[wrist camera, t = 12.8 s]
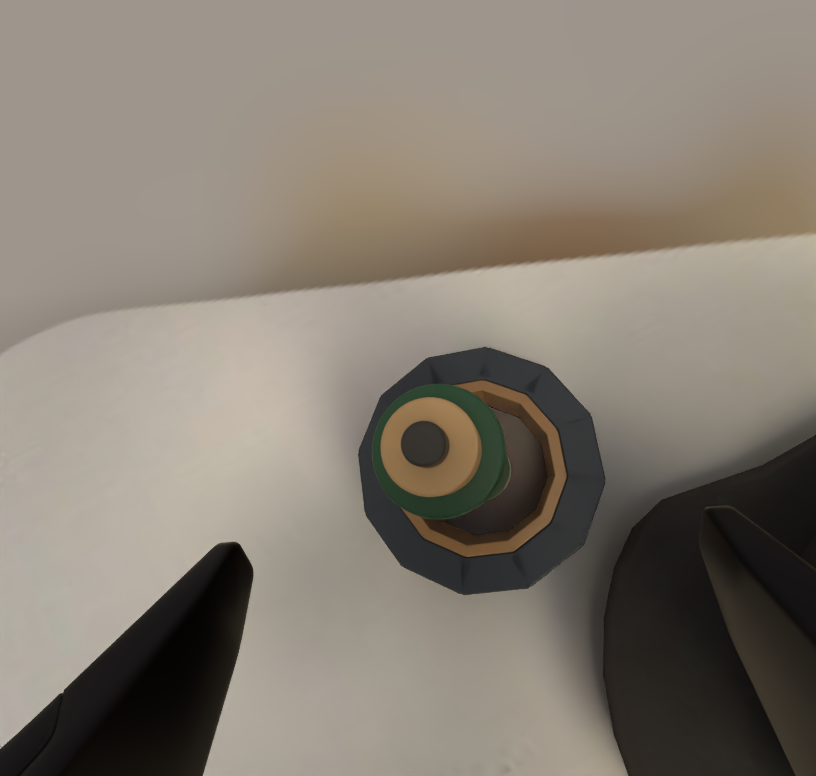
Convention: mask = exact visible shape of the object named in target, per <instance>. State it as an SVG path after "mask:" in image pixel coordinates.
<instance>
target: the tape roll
mask: <svg viewBox="0 0 816 776" xmlns="http://www.w3.org/2000/svg"><path fill="white" fill-rule="evenodd" d="M431 384H447V385H453V386H457V387H461V388H463V389H465V390H468V391H470V392H471V393H473V394H475V395H476V396H478V397H479V398H480V399H482V400H483V401H484V402H485V403H486V404H487V405H488V406H490V407H493V408H496V409H499V410H501V411H504V412H507V413H510V414H512V415H515V416H518V417H519V418H520V419H521V420H522V421H523V422H524V423H525V425H526V426H527V427H528V428H529V429H530V430H531V431H532V433H533V434H534V435H535V436H536V437H537V438H538V440H539V441H540V442H541V444H542V449H543V454H544V460H545V465H546V470H547V475H548V478H547V481H546V483H545V486H544V489H543V492H542V495H541V497H540V500H539V503H538V506H537V508H536V510H535V511H534V512H532V513H531V514H530V515H529V516H527V517H526V518H525V519H524V520H522V521H521V522H520V523H519V524H517V525H516V526H515V527H514V528H512V529H511V530H510V531H506V532H498V533H489V534H481V535H473V534H471V533H468V532H466V531H464V530H461V529H459V528H457V527H454V526H452V525H450V524H448V523H445V522H443V521H442V519H441V520H437V519H427V518H422V517H419V516H416V515H413V514H411V513H409V512H407V511H405V510H404V509H402V508H401V507H399V506H398V505H397V504H396V503H394V502H393V501H392V500H391V499H390V498H389V496H388V495H387V494H386V493H385V491H384V490H383V488H382V487H381V485H380V483H379V481H378V479H377V476H376V473H375V471H374V466H373V461H372V443H373V437H374V433H375V430H376V427H377V425H378V423H379V421H380V419H381V417H382V415H383V414H384V412H385V411H386V410H387V408H388V407H389V406H390V405H391V404H392V403H393V402H394V401H395V400H396V399H398V398H399V397H400V396H402V395H403V394H405V393H406V392H408V391H410V390H412V389H415V388H417V387H421V386H425V385H431ZM358 456H359V465H360V474H361V482H362V491H363V500H364V509H365V513H366V516H367V518H368V519H369V521H370V522H371V523H372V525H373V526H374V528H375V529H376V531H377V532H378V533H379V535H380V536H381V538H382V539H383V541H384V542H385V543H386V545H387V546H388V548H389V549H390V550H391V552H392V553H393V555H394V556H395V558H396V559H397V560H398V562H399V563H400V565H401V566H403V567H404V568H406V569H408V570H410V571H412V572H414V573H416V574H419V575H421V576H423V577H425V578H427V579H429V580H431V581H434V582H436V583H438V584H440V585H442V586H444V587H446V588H448V589H451V590H453V591H455V592H457V593H459V594H463V595H470V594H479V593H489V592H499V591H508V590H518V589H528V588H529V587H531V586H533V585H534V584H536V583H537V582H538V581H539V580H541V579H542V578H543V577H544V576H546V575H547V574H548V573H549V572H551V571H552V570H553V569H555V568H556V567H557V566H558V565H560V564H561V563H562V562H563V561H565V560H566V559H567V558H569V557H570V556H571V555H572V554H574V553H575V552H576V551H577V550H579V549H580V548H581V547H582V545H584V543H585V540H586V537H587V534H588V531H589V528H590V526H591V523H592V520H593V517H594V514H595V511H596V508H597V505H598V503H599V500H600V497H601V494H602V491H603V488H604V485H605V475H604V471H603V466H602V461H601V457H600V452H599V448H598V443H597V438H596V434H595V429H594V425H593V420H592V417H591V415H590V413H589V412H588V411H587V410H586V409H585V408H584V407H583V405H582V404H581V403H580V402H579V401H578V400H577V399H576V398H575V397H574V396H573V394H572V393H571V392H570V391H569V390H568V389H567V388H566V387H565V386H564V385H563V384H562V382H561V381H560V380H559V379H558V378H557V377H556V376H555V375H554V374H553V373H552V372H551V370H550V369H549V368H546V367H545V366H543V365H540V364H537V363H534V362H531V361H528V360H525V359H522V358H519V357H516V356H513V355H510V354H507V353H504V352H501V351H498V350H495V349H492V348H487V347H483V348H478V349H472V350H467V351H462V352H456V353H451V354H446V355H440V356H435V357H430V358H427V359H425V360H424V361H423V362H421V363H420V364H419V365H418V366H417V367H415V368H414V369H413V370H412V371H410V372H409V373H408V374H407V375H406V376H404V377H403V378H402V379H401V380H399V381H398V382H397V383H396V384H395V385H393V386H392V387H391V388H390V389H389V390H387V391H386V392H385V393H384V394H382V395H381V397H380V399H379V401H378V404H377V406H376V409H375V411H374V414H373V416H372V419H371V421H370V424H369V426H368V429H367V431H366V433H365V436H364V438H363V441H362V443H361V446H360V448H359V454H358Z"/></svg>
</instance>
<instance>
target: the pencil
mask: <svg viewBox="0 0 816 776" xmlns="http://www.w3.org/2000/svg"><path fill="white" fill-rule="evenodd" d="M372 461H373V466H374V471H375V473H376V476H377V479H378V481H379V483H380V485H381V487H382V488H383V490H384V491H385V493H386V494H387V495H388V496H389V498H390V499H391V500H392V501H393V502H394V503H396V504H397V505H398V506H399V507H401V508H402V509H404V510H405V511H407V512H409V513H411V514H413V515H416V516H419V517H422V518H427V519H437V520H441V519H450V518H455V517H458V516H461V515H464V514H466V513H468V512H470V511H472V510H474V509H475V508H477V507H479V506H480V505H482V504H484V503H485V502H487V501H490V500H493V499H494V498H496V497H498V496H499V495H500V494H501V493H502V492H503V491H504V490H505V489H506V487H507V486H508V484H509V481H510V478H511V462H510V459H509V456H508V454H507V449H506V444H505V439H504V435H503V431H502V428H501V426H500V423H499V421H498V419H497V418H496V416H495V414H494V413H493V411H492V410H491V409H490V407H489V406H488V405H487V404H486V403H485V402H484V401H483V400H482V399H480V398H479V397H478V396H476V395H475V394H473V393H471V392H470V391H468V390H465V389H463V388H461V387H457V386H453V385H447V384H431V385H425V386H421V387H417V388H415V389H412V390H410V391H408V392H406V393H405V394H403V395H402V396H400V397H399V398H398V399H396V400H395V401H394V402H393V403H392V404H391V405H390V406H389V407H388V408H387V410H386V411H385V412H384V414H383V415H382V417H381V419H380V421H379V423H378V425H377V427H376V430H375V433H374V437H373V443H372Z"/></svg>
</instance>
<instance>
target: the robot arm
mask: <svg viewBox="0 0 816 776" xmlns="http://www.w3.org/2000/svg"><path fill="white" fill-rule="evenodd" d="M699 546H700V550H701V554H702V556H703V559H704V562H705V565H706V568H707V571H708V574H709V577H710V580H711V583H712V586H713V589H714V592H715V595H716V597H717V600H718V603H719V606H720V609H721V612H722V615H723V618H724V621H725V624H726V626H727V629H728V632H729V634H730V637H731V639H732V641H733V644H734V646H735V648H736V650H737V652H738V655H739V657H740V659H741V661H742V663H743V665H744V667H745V669H746V672H747V674H748V676H749V678H750V680H751V682H752V684H753V686H754V689H755V691H756V693H757V695H758V697H759V699H760V701H761V703H762V706H763V708H764V710H765V712H766V714H767V716H768V718H769V720H770V723H771V725H772V727H773V729H774V731H775V733H776V735H777V737H778V740H779V742H780V744H781V746H782V748H783V750H784V752H785V754H786V757H787V759H788V761H789V763H790V765H791V767H792V769H793V771H794V774H795V776H816V569H815V568H814V567H813V566H811V565H810V564H809V563H807V562H806V561H805V560H803V559H802V558H800V557H799V556H798V555H796V554H795V553H794V552H792V551H791V550H790V549H788V548H787V547H786V546H784V545H783V544H782V543H780V542H779V541H778V540H776V539H775V538H774V537H772V536H771V535H770V534H768V533H767V532H766V531H764V530H763V529H762V528H760V527H759V526H758V525H756V524H755V523H753V522H752V521H751V520H749V519H748V518H747V517H745V516H744V515H743V514H741V513H740V512H739V511H737V510H736V509H735V508H733V507H731V506H713V507H706V508H705V509H704V510H703V513H702V520H701V526H700V532H699ZM252 582H253V567H252V564H251V563H250V561H249V559H248V557H247V556H246V554H245V552H244V551H243V549H242V547H241V545H240V544H239V543H237V542H226V543H219V544H217V545H216V546H214V547H213V548H212V549H211V550H210V551H209V552H208V553H207V554H206V555H205V556H204V557H203V558H202V559H201V560H200V561H199V562H198V563H197V564H196V565H194V566H193V567H192V568H191V569H190V570H189V571H188V572H187V573H186V574H185V575H184V576H183V577H182V578H181V579H180V580H179V581H178V582H177V583H176V584H175V585H174V586H172V587H171V588H170V589H169V590H168V591H167V592H166V593H165V594H164V595H163V596H162V597H161V598H160V599H159V600H158V601H157V602H156V603H155V604H154V605H153V606H152V607H150V608H149V609H148V610H147V611H146V612H145V613H144V614H143V615H142V616H141V617H140V618H139V619H138V620H137V621H136V622H135V623H134V624H133V625H132V626H131V627H129V628H128V629H127V630H126V631H125V632H124V633H123V634H122V635H121V636H120V637H119V638H118V639H117V640H116V641H115V642H114V643H113V644H112V645H111V646H110V647H109V648H107V649H106V650H105V651H104V652H103V653H102V654H101V655H100V656H99V657H98V658H97V659H96V660H95V661H94V662H93V663H92V664H91V665H90V666H89V667H88V668H87V669H85V670H84V671H83V672H82V673H81V674H80V675H79V676H78V677H77V678H76V679H75V680H74V681H73V682H72V683H71V684H70V685H69V686H68V687H67V688H66V689H65V690H64V692H63V693H61V694H59V695H58V696H57V697H56V698H55V699H54V700H53V701H52V702H51V703H50V704H49V705H48V706H47V707H45V708H44V709H43V710H42V711H41V712H40V713H39V714H38V715H37V716H36V717H35V718H34V719H33V720H32V721H30V722H29V723H28V724H27V725H26V726H25V727H24V728H23V729H22V730H21V731H20V732H19V733H18V734H16V735H15V736H14V737H13V738H12V739H11V740H10V741H9V742H8V743H6V744H5V745H4V746H3V747H2V748H1V749H0V776H203V773H204V769H205V766H206V762H207V759H208V756H209V752H210V749H211V745H212V742H213V739H214V735H215V732H216V728H217V725H218V722H219V718H220V715H221V711H222V708H223V705H224V701H225V698H226V694H227V691H228V688H229V684H230V681H231V677H232V674H233V671H234V667H235V664H236V660H237V656H238V653H239V649H240V644H241V640H242V635H243V630H244V624H245V619H246V614H247V608H248V603H249V598H250V593H251V587H252Z"/></svg>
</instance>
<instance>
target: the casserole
mask: <svg viewBox="0 0 816 776" xmlns="http://www.w3.org/2000/svg"><path fill="white" fill-rule="evenodd" d="M713 506H731V507H733V508H735V509H736V510H737V511H739V512H740V513H741V514H743V515H744V516H745V517H747V518H748V519H749V520H751V521H752V522H753V523H755V524H756V525H758V526H759V527H760V528H762V529H763V530H764V531H766V532H767V533H768V534H770V535H771V536H772V537H774V538H775V539H776V540H778V541H779V542H780V543H782V544H783V545H784V546H786V547H787V548H788V549H790V550H791V551H792V552H794V553H795V554H796V555H798V556H799V557H800V558H802V559H803V560H805V561H806V562H807V563H809V564H810V565H811V566H813V567H814V568H815V569H816V435H815V436H813V437H812V438H810V439H808V440H806V441H805V442H803V443H801V444H799V445H798V446H796V447H794V448H792V449H790V450H789V451H787V452H785V453H783V454H782V455H780V456H778V457H776V458H775V459H773V460H771V461H769V462H768V463H766V464H764V465H762V466H760V467H757V468H754V469H751V470H748V471H745V472H742V473H739V474H736V475H733V476H730V477H727V478H724V479H721V480H718V481H715V482H713V483H710V484H707V485H704V486H701V487H698V488H695V489H692V490H689V491H686V492H683V493H680V494H677V495H674V496H671V497H668V498H666V499H663V500H661V501H660V502H659V503H658V504H657V505H656V506H655V507H654V508H653V509H652V510H651V511H650V512H649V513H648V514H647V515H646V516H645V517H643V518H642V519H641V520H640V521H639V522H638V523H637V524H636V525H635V526H634V527H633V528H632V530H631V532H630V534H629V536H628V538H627V541H626V543H625V545H624V547H623V549H622V552H621V554H620V556H619V558H618V560H617V562H616V565H615V567H614V570H613V575H612V580H611V585H610V590H609V595H608V600H607V605H606V610H605V615H604V644H603V677H604V682H605V688H606V693H607V699H608V704H609V710H610V715H611V721H612V726H613V732H614V736H615V739H616V742H617V745H618V747H619V750H620V753H621V756H622V758H623V761H624V764H625V767H626V770H627V772H628V775H629V776H795V774H794V771H793V769H792V767H791V765H790V763H789V761H788V759H787V757H786V754H785V752H784V750H783V748H782V746H781V744H780V742H779V740H778V737H777V735H776V733H775V731H774V729H773V727H772V725H771V723H770V720H769V718H768V716H767V714H766V712H765V710H764V708H763V706H762V703H761V701H760V699H759V697H758V695H757V693H756V691H755V689H754V686H753V684H752V682H751V680H750V678H749V676H748V674H747V672H746V669H745V667H744V665H743V663H742V661H741V659H740V657H739V655H738V652H737V650H736V648H735V646H734V644H733V641H732V639H731V637H730V634H729V632H728V629H727V626H726V624H725V621H724V618H723V615H722V612H721V609H720V606H719V603H718V600H717V597H716V595H715V592H714V589H713V586H712V583H711V580H710V577H709V574H708V571H707V568H706V565H705V562H704V559H703V556H702V554H701V550H700V546H699V532H700V526H701V520H702V513H703V510H704V509H705V508H706V507H713Z"/></svg>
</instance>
